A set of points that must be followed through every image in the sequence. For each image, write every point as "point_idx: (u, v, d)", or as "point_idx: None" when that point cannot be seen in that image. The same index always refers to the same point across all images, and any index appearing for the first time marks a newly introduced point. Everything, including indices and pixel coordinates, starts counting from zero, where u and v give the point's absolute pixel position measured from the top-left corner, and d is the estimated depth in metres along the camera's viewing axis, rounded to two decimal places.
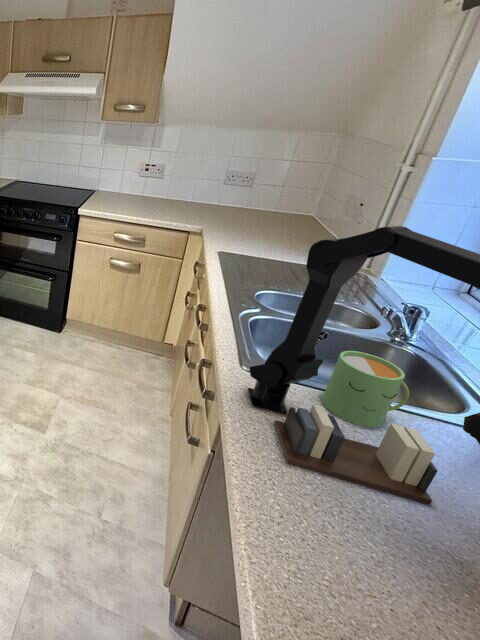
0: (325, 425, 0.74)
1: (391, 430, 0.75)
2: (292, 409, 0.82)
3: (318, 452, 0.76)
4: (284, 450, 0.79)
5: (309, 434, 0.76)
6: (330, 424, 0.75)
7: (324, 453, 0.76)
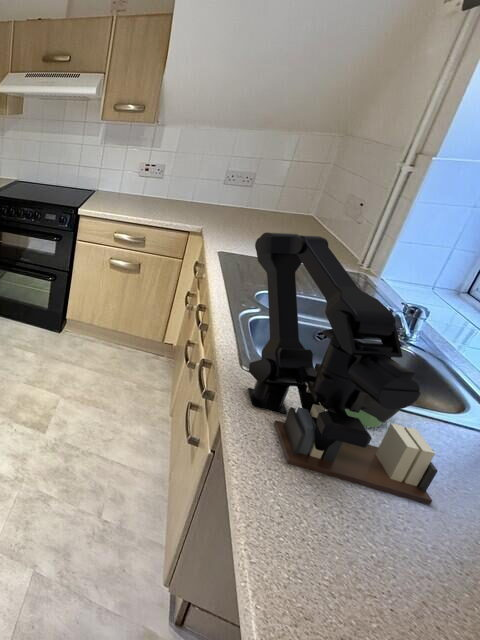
0: None
1: (391, 430, 0.75)
2: (292, 409, 0.82)
3: (318, 452, 0.76)
4: (284, 450, 0.79)
5: (309, 434, 0.76)
6: None
7: (324, 453, 0.76)
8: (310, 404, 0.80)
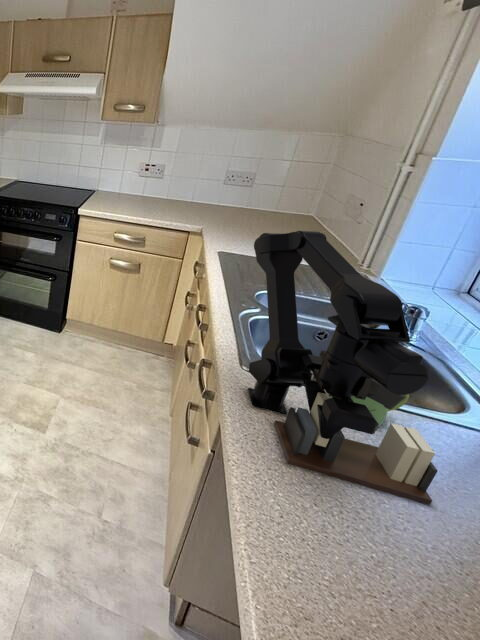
0: None
1: (391, 430, 0.75)
2: (292, 409, 0.82)
3: (323, 440, 0.75)
4: (284, 450, 0.79)
5: (309, 434, 0.76)
6: None
7: (324, 453, 0.76)
8: (315, 392, 0.79)
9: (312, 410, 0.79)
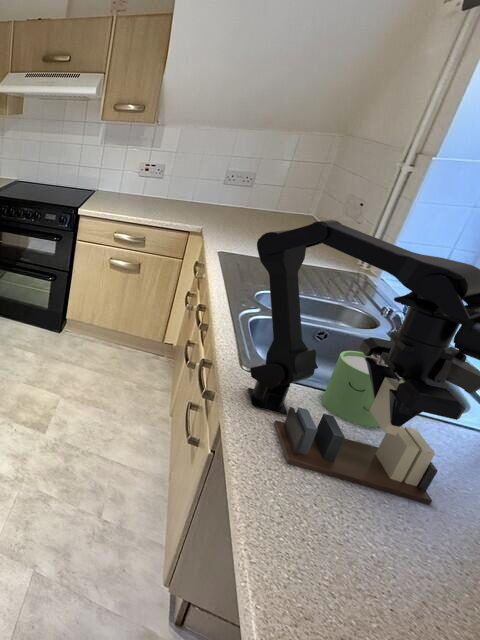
0: None
1: None
2: (292, 409, 0.82)
3: (393, 428, 0.70)
4: (284, 450, 0.79)
5: (309, 434, 0.76)
6: None
7: (324, 453, 0.76)
8: (381, 377, 0.74)
9: (378, 396, 0.74)
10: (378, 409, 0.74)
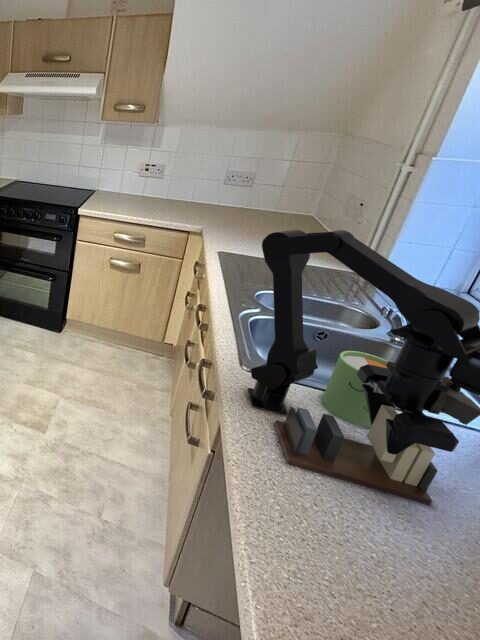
0: None
1: None
2: (292, 409, 0.82)
3: (390, 455, 0.72)
4: (284, 450, 0.79)
5: (309, 434, 0.76)
6: None
7: (324, 453, 0.76)
8: (378, 405, 0.76)
9: (375, 423, 0.76)
10: (375, 436, 0.75)
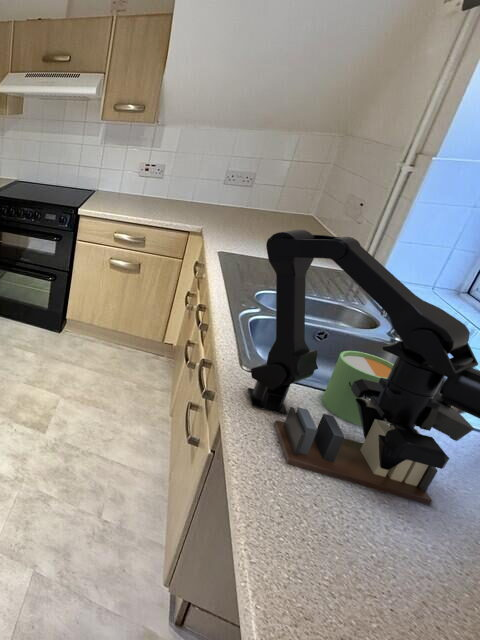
0: None
1: None
2: (292, 409, 0.82)
3: (383, 470, 0.73)
4: (284, 450, 0.79)
5: (309, 434, 0.76)
6: None
7: (324, 453, 0.76)
8: (371, 419, 0.77)
9: (368, 437, 0.77)
10: (368, 450, 0.76)
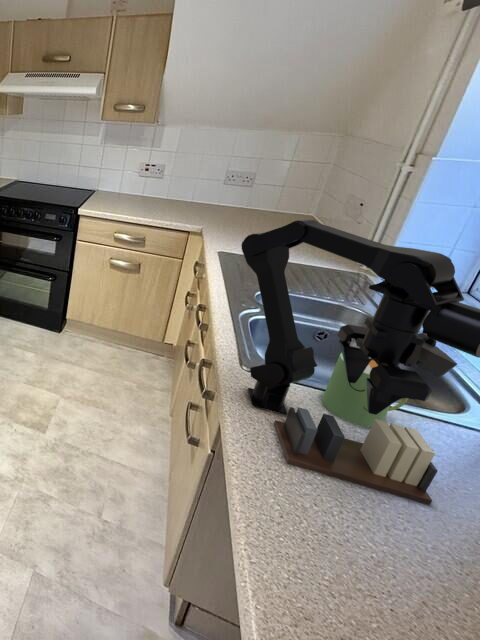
0: (392, 443, 0.71)
1: None
2: (292, 409, 0.82)
3: (383, 470, 0.73)
4: (284, 450, 0.79)
5: (309, 434, 0.76)
6: (397, 441, 0.71)
7: (324, 453, 0.76)
8: (354, 358, 0.78)
9: (368, 437, 0.77)
10: (368, 450, 0.76)
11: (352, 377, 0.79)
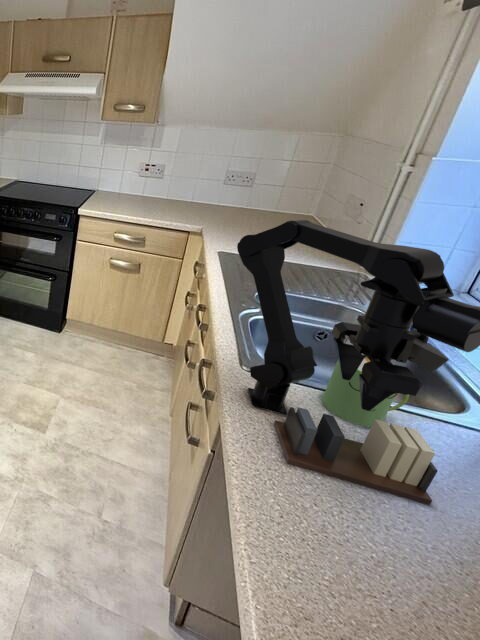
0: (392, 443, 0.71)
1: None
2: (292, 409, 0.82)
3: (383, 470, 0.73)
4: (284, 450, 0.79)
5: (309, 434, 0.76)
6: (397, 441, 0.71)
7: (324, 453, 0.76)
8: (347, 355, 0.79)
9: (368, 437, 0.77)
10: (368, 450, 0.76)
11: (346, 374, 0.80)
